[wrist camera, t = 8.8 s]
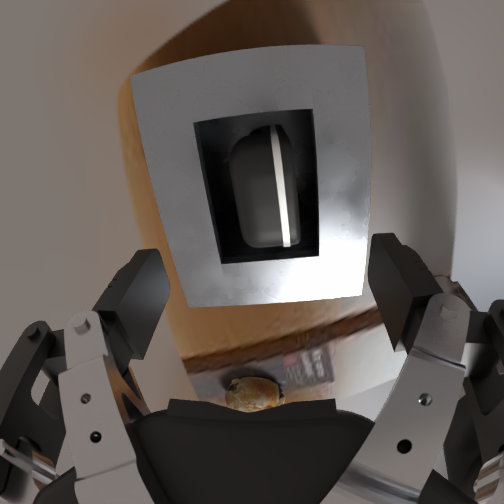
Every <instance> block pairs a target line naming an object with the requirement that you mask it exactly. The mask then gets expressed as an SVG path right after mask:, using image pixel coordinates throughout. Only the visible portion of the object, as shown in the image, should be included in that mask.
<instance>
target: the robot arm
mask: <svg viewBox="0 0 504 504" xmlns="http://www.w3.org/2000/svg"><path fill="white" fill-rule="evenodd" d="M368 282H369V286H370V288H371V291H372V293H373V296H374V298H375V301H376V303H377V306H378V308H379V311H380V314H381V316H382V319H383V322H384V324H385V327H386V330H387V332H388V335H389V338H390V341H391V344H392V347H393V350H394V352H398V351H404V350H406V353H407V355H408V356H407V358H406V360H405V363H404V365H403V367H402V369H401V371H400V374H399V376H398V378H397V380H396V382H395V384H394V386H393V388H392V390H391V392H390V394H389V396H388V398H387V400H386V402H385V404H384V405H383V408H382V409H381V411H380V413H379V414H378V416H377V418H376V420H375V421H374V422H373V421H371V420H370V419H368V418H366V417H364V416H362V415H359V414H356V413H353V412H349V411H344V410H337V409H336V402H335V399H325V400H315V401H301V402H291V403H288V404H284V405H280V406H276V407H272V408H268V409H264V410H259V411H255V412H243V411H239V410H235V409H231V408H227V407H224V406H220V405H217V404H213V403H210V402H204V401H190V400H179V399H170V401H169V405H168V409H165V410H161V411H156V412H153V413H151V412H150V410H149V409H148V407H147V405H146V403H145V401H144V398H143V396H142V394H141V391H140V389H139V387H138V384H137V382H136V379H135V376H134V374H133V371H132V369H131V367H130V366H129V362H130V360H131V359H138V360H143V359H144V356H145V354H146V351H147V349H148V346H149V344H150V341H151V339H152V336H153V333H154V331H155V329H156V326H157V324H158V321H159V319H160V316H161V314H162V312H163V309H164V307H165V305H166V302H167V300H168V298H169V295H170V283H169V279H168V276H167V273H166V270H165V267H164V264H163V261H162V258H161V255H160V252H159V251H158V250H157V249H143V250H138V251H137V252H136V253H135V255H134V256H133V257H132V259H131V260H130V262H129V263H127V264H126V265H125V266H124V267H122V268H121V269H120V270H119V271H118V272H117V273H116V275H115V276H114V278H113V280H112V281H111V282H110V283H109V285H108V288H106V289H105V291H104V292H103V294H102V295H101V297H100V298H99V300H98V301H97V303H96V304H95V306H94V307H93V309H92V310H91V311H83V312H80V313H78V314H76V315H75V316H73V317H72V318H71V319H70V320H69V321H68V323H67V324H66V326H65V329H62V330H57V331H52V330H51V329H50V327H49V326H48V325H47V323H46V322H45V321H37V322H34V323H32V324H31V325H29V326H28V327H27V328H26V329H25V330H24V332H23V333H22V335H21V337H20V338H19V340H18V341H17V343H16V344H15V346H14V348H13V349H12V351H11V353H10V355H9V356H8V358H7V360H6V361H5V363H4V365H3V367H2V369H1V370H0V499H2V500H4V501H6V502H8V503H9V504H504V300H496V301H494V302H493V303H492V305H491V306H490V308H489V311H488V312H479V311H478V310H477V308H476V307H475V305H474V304H473V302H472V301H471V299H470V298H469V296H468V295H467V294H466V292H465V291H464V289H463V288H462V287H461V285H460V284H459V282H453V281H451V280H450V279H449V278H447V277H443V276H438V277H434V276H433V275H432V273H431V272H430V270H428V268H427V266H426V265H425V263H423V260H422V259H421V258H420V256H419V255H418V254H417V252H415V251H414V250H413V249H411V248H410V247H408V246H407V245H402V244H401V243H400V241H399V240H398V238H397V237H396V236H395V234H394V233H378V234H373V236H372V240H371V248H370V257H369V265H368ZM40 370H42V371H43V372H44V374H45V375H46V376H47V377H48V378H49V379H50V381H49V383H48V385H47V387H46V390H45V392H44V394H43V397H42V399H41V401H40V404H39V406H38V405H37V404H36V403H35V402H34V401H33V399H32V397H31V388H32V386H33V384H34V382H35V379H36V377H37V376H38V374H39V372H40ZM66 432H67V437H68V441H69V446H70V450H71V454H72V458H73V461H74V465H75V466H74V467H72V468H71V469H70V470H68V471H67V472H65V473H64V474H62V475H61V476H60V475H58V474H57V473H56V472H55V468H56V464H57V460H58V457H59V453H60V450H61V447H62V444H63V441H64V438H65V435H66ZM442 445H443V448H444V455H445V461H446V467H447V474H448V480H447V479H445V478H444V477H443V476H442V475H440V474H439V473H438V472H436V471H435V470H434V469H432V468H433V466H434V464H435V462H436V460H437V457H438V455H439V453H440V450H441V448H442Z"/></svg>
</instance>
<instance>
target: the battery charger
mask: <svg viewBox="0 0 504 504" xmlns="http://www.w3.org/2000/svg"><path fill="white" fill-rule="evenodd" d="M229 167H230V174H231V180H232V185H233V191H234V196H235V202H236V207H237V213H238V218H239V223H240V229H241V234H242V237H243V239H244V240H245V242H246V243H247V244H248V245H250V246H252V247H255V248H264V247H274V246H284V247H289V246H290V245H294V244H298V243H299V242H300V239H301V232H300V217H299V205H298V193H297V182H296V172H295V163H294V156H293V150H292V146H291V143H290V140H289V138H288V136H287V134H286V132H285V131H284V129H283V126H282V125H275V124H270V125H269V126H262V127H259V128H256V129H255V130H253V131H252V132H251V133H250V135H248V136H244V137H242V138H240V139H239V140H238V141H237V143H236V144H235V145H234V147H233V149H232V152H231V156H230V160H229Z"/></svg>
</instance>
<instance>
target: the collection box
mask: <svg viewBox="0 0 504 504" xmlns="http://www.w3.org/2000/svg"><path fill="white" fill-rule="evenodd" d="M130 81H131V87H132V93H133V99H134V104H135V110H136V115H137V120H138V125H139V130H140V135H141V140H142V144H143V149H144V153H145V158H146V162H147V166H148V170H149V175H150V179H151V183H152V187H153V190H154V194H155V198H156V202H157V206H158V209H159V213H160V217H161V220H162V224H163V227H164V231H165V234H166V237H167V241H168V244H169V247H170V251H171V254H172V257H173V260H174V264H175V267H176V270H177V273H178V276H179V279H180V282H181V285H182V288H183V291H184V294H185V297H186V300H187V303H188V305H189V307H210V306H232V305H250V304H265V303H279V302H292V301H304V300H315V299H326V298H336V297H345V296H354V295H361V292H362V285H363V277H364V269H365V260H366V250H367V240H368V227H369V212H370V191H371V124H370V104H369V90H368V78H367V69H366V60H365V52H364V46H350V45H285V46H271V47H260V48H251V49H243V50H236V51H229V52H223V53H217V54H212V55H206V56H201V57H197V58H192V59H188V60H184V61H179V62H175V63H172V64H168V65H164V66H161V67H157V68H154V69H150V70H147V71H144V72H141V73H138V74H135V75H132V76H130ZM270 124H275V125H282V126H283V129H284V131H285V132H286V134H287V136H288V138H289V140H290V143H291V146H292V150H293V156H294V163H295V172H296V182H297V193H298V205H299V217H300V232H301V239H300V242H299V243H298V244H294V245H290V246H289V247H284V246H274V247H264V248H255V247H252V246H250V245H248V244H247V243H246V242H245V240H244V239H243V237H242V234H241V229H240V223H239V218H238V213H237V207H236V202H235V196H234V191H233V185H232V180H231V174H230V167H229V160H230V156H231V152H232V149H233V147H234V145H235V144H236V143H237V141H238V140H239V139H240V138H242V137H244V136H248V135H250V133H251V132H252V131H253V130H255V129H256V128H259V127H262V126H269V125H270Z"/></svg>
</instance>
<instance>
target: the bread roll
mask: <svg viewBox="0 0 504 504" xmlns="http://www.w3.org/2000/svg"><path fill="white" fill-rule="evenodd" d="M231 382H232V383H231V384H230V386H229V387H228V389H227V391H226V395H225V399H226V403H227V405H228V407H229V408H231V409H235V410H239V411H243V412H255V411H259V410H264V409H268V408H272V407H276V406H280V405H282V403H284V402H285V399H286V397H285V396H284V395H283V394H282V393H281V392H282V389H281V388H280V387H279V386H278V384H276V383H275V382H273V381H271V380H270V379H268V378H266V379H265V378H260V377H243V378H235V379H233V380H232V381H231Z"/></svg>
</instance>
